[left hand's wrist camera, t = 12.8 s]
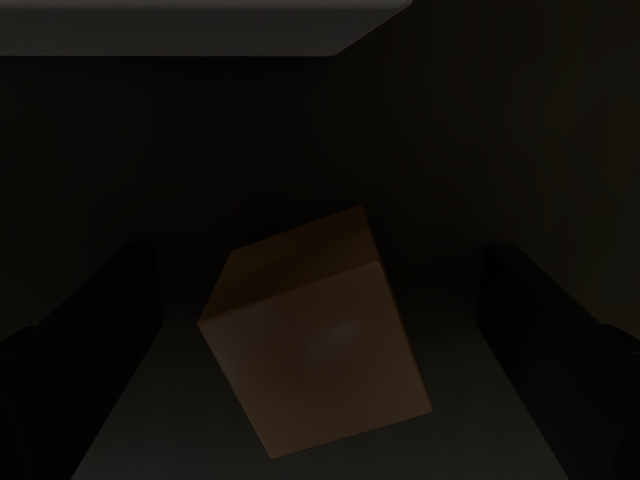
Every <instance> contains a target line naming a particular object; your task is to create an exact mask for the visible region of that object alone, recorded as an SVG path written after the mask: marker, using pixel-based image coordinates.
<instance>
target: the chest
mask: <svg viewBox="0 0 640 480" xmlns="http://www.w3.org/2000/svg"><path fill="white" fill-rule="evenodd" d="M412 1H413V0H0V56H335V55H336V54H338V53H339V52H341V51H342V50H344V49H345V48H347V47H348V46H350V45H351V44H353V43H354V42H356V41H357V40H359V39H360V38H362V37H363V36H365V35H366V34H368V33H369V32H371V31H372V30H373V29H375V28H376V27H378V26H379V25H381V24H382V23H384V22H385V21H387V20H388V19H390V18H391V17H393V16H394V15H396V14H397V13H399V12H400V11H402V10H403V9H405V8H406V7H408V6H409V5H411V3H412Z"/></svg>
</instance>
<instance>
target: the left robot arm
mask: <svg viewBox="0 0 640 480" xmlns="http://www.w3.org/2000/svg"><path fill="white" fill-rule="evenodd" d="M476 325H477V327H478V328H479V330H480V332H481V333H482V335H483V337H484V338H485V340H486V342H487V343H488V345H489V347H490V348H491V350H492V352H493V353H494V355H495V357H496V358H497V360H498V362H499V363H500V365H501V367H502V368H503V370H504V372H505V373H506V375H507V377H508V378H509V380H510V382H511V383H512V385H513V387H514V388H515V390H516V392H517V393H518V395H519V397H520V398H521V400H522V402H523V403H524V405H525V407H526V408H527V410H528V412H529V413H530V415H531V417H532V418H533V420H534V422H535V423H536V425H537V427H538V428H539V430H540V432H541V433H542V435H543V437H544V438H545V440H546V442H547V443H548V445H549V447H550V448H551V450H552V452H553V453H554V455H555V457H556V458H557V460H558V462H559V463H560V465H561V467H562V468H563V470H564V472H565V473H566V475H567V477H568V478H569V480H640V341H639V340H638V339H636V338H635V337H634V336H632V335H630V334H628V333H626V332H624V331H622V330H621V329H619V328H617V327H615V326H613V325H601V324H600V323H599V322H598V321H597V320H596V319H595V318H594V317H593V316H592V315H590V314H589V313H588V312H587V311H586V310H585V309H584V308H583V307H582V306H581V305H580V304H579V303H577V302H576V301H575V300H574V299H573V298H572V297H571V296H570V295H569V294H568V293H567V292H566V291H565V290H563V289H562V288H561V287H560V286H559V285H558V284H557V283H556V282H555V281H554V280H553V279H552V278H551V277H549V276H548V275H547V274H546V273H545V272H544V271H543V270H542V269H541V268H540V267H539V266H538V265H537V264H535V263H534V262H533V261H532V260H531V259H530V258H529V257H528V256H527V255H526V254H525V253H524V252H522V251H521V250H520V249H519V248H518V247H517V246H516V245H515V244H514V243H488V245H487V251H486V258H485V265H484V272H483V279H482V286H481V293H480V300H479V307H478V314H477V321H476ZM162 326H163V318H162V311H161V304H160V297H159V290H158V283H157V276H156V269H155V262H154V255H153V248H152V243H126V244H125V245H123V246H122V247H121V248H120V249H119V250H118V251H117V252H116V253H115V254H114V255H113V256H112V257H111V258H109V259H108V260H107V261H106V262H105V263H104V264H103V265H102V266H101V267H100V268H99V269H98V270H96V271H95V272H94V273H93V274H92V275H91V276H90V277H89V278H88V279H87V280H86V281H85V282H84V283H82V284H81V285H80V286H79V287H78V288H77V289H76V290H75V291H74V292H73V293H72V294H71V295H70V296H68V297H67V298H66V299H65V300H64V301H63V302H62V303H61V304H60V305H59V306H58V307H57V308H55V309H54V310H53V311H52V312H51V313H50V314H49V315H48V316H47V317H46V318H45V319H44V320H43V321H41V322H40V323H39V324H38V325H37V326H28V327H26V328H24V329H22V330H20V331H19V332H17V333H15V334H13V335H11V336H9V337H8V338H6V339H4V340H3V341H2V342H1V343H0V480H70V479H71V478H72V476H73V474H74V473H75V471H76V469H77V468H78V466H79V464H80V463H81V461H82V459H83V458H84V456H85V454H86V453H87V451H88V449H89V448H90V446H91V444H92V443H93V441H94V439H95V438H96V436H97V434H98V433H99V431H100V429H101V428H102V426H103V424H104V423H105V421H106V419H107V418H108V416H109V414H110V413H111V411H112V409H113V408H114V406H115V404H116V403H117V401H118V399H119V398H120V396H121V394H122V393H123V391H124V389H125V388H126V386H127V384H128V383H129V381H130V379H131V378H132V376H133V374H134V373H135V371H136V369H137V367H138V366H139V364H140V362H141V361H142V359H143V357H144V356H145V354H146V352H147V351H148V349H149V347H150V346H151V344H152V342H153V341H154V339H155V337H156V336H157V334H158V332H159V331H160V329H161V327H162Z"/></svg>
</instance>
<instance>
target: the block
mask: <svg viewBox="0 0 640 480" xmlns="http://www.w3.org/2000/svg"><path fill="white" fill-rule="evenodd" d="M197 323H198V327H199V329H200V331H201V333H202V335H203V336H204V338H205V340H206V342H207V344H208V346H209V347H210V349H211V351H212V353H213V355H214V356H215V358H216V360H217V362H218V364H219V365H220V367H221V369H222V371H223V373H224V375H225V376H226V378H227V380H228V382H229V384H230V385H231V387H232V389H233V391H234V393H235V394H236V396H237V398H238V400H239V402H240V404H241V405H242V407H243V409H244V411H245V413H246V414H247V416H248V418H249V420H250V422H251V423H252V425H253V427H254V429H255V431H256V433H257V434H258V436H259V438H260V440H261V442H262V443H263V445H264V447H265V449H266V451H267V452H268V454H269V456H270V458H271V459H276V458H279V457H283V456H286V455H290V454H293V453H296V452H300V451H303V450H307V449H310V448H313V447H317V446H320V445H323V444H327V443H330V442H334V441H337V440H340V439H344V438H347V437H351V436H354V435H357V434H361V433H364V432H368V431H371V430H374V429H378V428H381V427H385V426H388V425H391V424H395V423H398V422H402V421H405V420H408V419H412V418H415V417H419V416H422V415H425V414H429V413H431V412H433V406H432V403H431V400H430V397H429V394H428V391H427V388H426V385H425V382H424V379H423V376H422V373H421V370H420V367H419V364H418V361H417V358H416V355H415V352H414V349H413V346H412V343H411V340H410V337H409V334H408V331H407V327H406V324H405V321H404V319H403V316H402V313H401V310H400V307H399V305H398V302H397V299H396V296H395V294H394V291H393V288H392V285H391V283H390V280H389V277H388V274H387V272H386V269H385V266H384V263H383V260H382V258H381V255H380V252H379V249H378V247H377V244H376V241H375V238H374V236H373V233H372V230H371V227H370V225H369V222H368V219H367V216H366V213H365V211H364V208H363V206H362V205H357V206H354V207H351V208H349V209H346V210H343V211H340V212H338V213H335V214H332V215H329V216H326V217H324V218H321V219H318V220H315V221H313V222H310V223H307V224H304V225H302V226H299V227H296V228H293V229H291V230H288V231H285V232H282V233H280V234H277V235H274V236H271V237H269V238H266V239H263V240H260V241H258V242H255V243H252V244H249V245H246V246H244V247H241V248H238V249H235V250H233V251H232V252H231V253H230V255H229V257H228V259H227V261H226V264H225V266H224V268H223V270H222V272H221V274H220V276H219V278H218V280H217V282H216V284H215V287H214V289H213V291H212V293H211V295H210V297H209V299H208V301H207V303H206V305H205V308H204V310H203V312H202V314H201V316H200V318H199V320H198V322H197Z"/></svg>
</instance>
